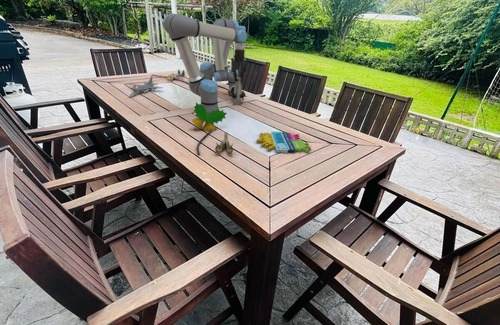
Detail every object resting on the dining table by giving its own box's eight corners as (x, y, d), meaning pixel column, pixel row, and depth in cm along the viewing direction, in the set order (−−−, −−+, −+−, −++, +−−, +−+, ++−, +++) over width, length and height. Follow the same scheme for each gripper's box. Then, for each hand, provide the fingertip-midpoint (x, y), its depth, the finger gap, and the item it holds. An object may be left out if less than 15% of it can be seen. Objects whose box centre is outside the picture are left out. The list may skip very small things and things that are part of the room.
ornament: (218, 133, 171) (224, 110, 169) (221, 134, 163) (227, 111, 161) (186, 125, 162) (192, 101, 160) (189, 126, 155) (195, 101, 153)
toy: (193, 70, 288) (180, 75, 262) (193, 77, 292) (181, 82, 266) (170, 68, 293) (155, 72, 267) (170, 75, 297) (156, 79, 271)
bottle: (235, 102, 218) (236, 77, 208) (242, 103, 217) (243, 78, 207) (232, 104, 213) (233, 78, 203) (239, 105, 211) (240, 79, 202)
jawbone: (234, 135, 144) (233, 125, 135) (233, 160, 138) (232, 151, 129) (217, 135, 144) (216, 125, 135) (216, 160, 138) (214, 150, 129)
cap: (235, 80, 207) (235, 77, 206) (241, 80, 208) (241, 77, 207) (235, 81, 204) (235, 78, 202) (241, 81, 204) (241, 78, 203)
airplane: (123, 87, 237) (120, 75, 231) (158, 84, 250) (157, 74, 245) (127, 99, 208) (125, 87, 203) (167, 96, 221) (166, 84, 216)
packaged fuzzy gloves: (313, 150, 142) (258, 149, 139) (312, 153, 143) (258, 152, 140) (301, 132, 164) (254, 130, 161) (301, 134, 165) (254, 133, 162)
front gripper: (230, 49, 188) (229, 82, 199) (252, 50, 195) (250, 81, 206) (226, 48, 194) (226, 80, 205) (248, 48, 201) (246, 79, 212)
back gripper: (245, 94, 231) (250, 102, 211) (223, 94, 227) (226, 102, 207) (245, 86, 227) (250, 93, 207) (223, 85, 223) (226, 92, 204)
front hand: (238, 81), depth 206 cm, fingers closed on cap, 4 cm apart
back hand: (238, 97), depth 207 cm, fingers closed on bottle, 6 cm apart
